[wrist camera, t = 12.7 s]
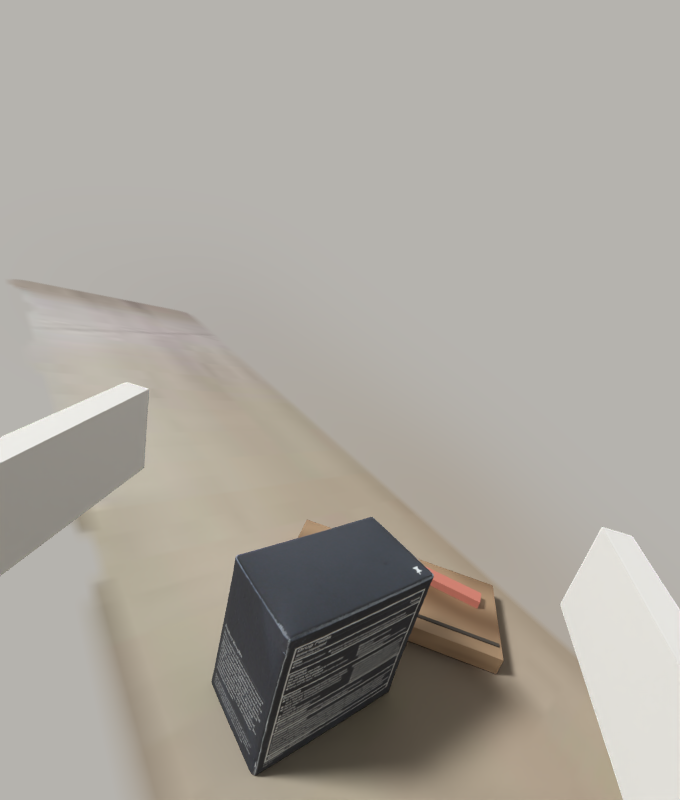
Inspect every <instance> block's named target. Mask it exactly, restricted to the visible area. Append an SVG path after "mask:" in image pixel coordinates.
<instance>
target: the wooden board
mask: <svg viewBox="0 0 680 800" xmlns="http://www.w3.org/2000/svg"><path fill="white" fill-rule="evenodd" d="M328 529H332V528H329V527H327V526H324V525H321V524H318V523H315V522H312V521H310V520H307V521H306V523H305V525H304V527H303V529H302V531H301V533H300V535H299V537H298V538H300V537H304V536H307V535H311V534H314V533H318V532H321V531H325V530H328ZM418 560H419V559H418ZM419 561H420V562H421V563H422V564H423V565H424V566H426V567H428V568H430V569H432V570H434V571H436V572H438V573H440V574H443V575H445V576H447V577H449V578H451V579H453V580H455V581H457V582H459V583H461V584H463V585H465V586H467V587H469V588H471V589H474V590H476V591H478V592H480V593H481V600H480V604H479V606H478V608H475V607H473V606H471V605H469V604H467V603H465V602H463V601H461V600H459V599H456V598H454V597H452V596H450V595H448V594H446V593H444V592H442V591H440V590H438V589H436V588H434V587H432V586H430V587H429V589H428V592H427V595H426V597H425V599H424V602H423V604H422V607H421V609H420V612H419V614H418V617H417V619H416V622H415V624H414V627H413V629H412V632H411V634H410V636H409V638H408V641H410V642H412V643H415V644H418V645H420V646H423V647H426V648H428V649H431V650H434V651H436V652H439V653H442V654H444V655H447V656H449V657H452V658H455V659H457V660H460V661H463V662H465V663H468V664H471V665H473V666H476V667H479V668H481V669H484V670H487V671H489V672H492V673H494V674H496V673H497V672H498V670H499V668H500V666H501V664H502V663H503V661H504V660H503V653H502V646H501V640H500V633H499V626H498V619H497V612H496V606H495V599H494V592H493V586H492V585H490V584H487V583H484V582H481V581H478V580H476V579H473V578H470V577H467V576H464V575H462V574H459V573H456V572H453V571H450V570H447V569H445V568H442V567H439V566H436V565H433V564H431V563H428V562H425V561H422V560H419Z"/></svg>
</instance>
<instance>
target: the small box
mask: <svg viewBox="0 0 680 800" xmlns="http://www.w3.org/2000/svg"><path fill="white" fill-rule="evenodd" d="M433 578H434V575H433V573H432V572H431V571H430V570H429V569H427V568H426V567H425V566H424V565H423V564H422V563H421V562H420V561H419V560H418V559H417V558H416V557H415V556H414V555H413V554H412V553H411V552H409V551H408V550H407V549H406V548H405V547H404V546H403V545H402V544H401V543H400V542H399V541H398V540H397V539H396V538H394V537H393V536H392V535H391V534H390V533H389V532H388V531H387V530H386V529H385V528H384V527H383V526H382V525H381V524H380V523H379V522H377V521H376V520H375V519H374V518H373V517H369V518H366V519H363V520H359V521H355V522H352V523H349V524H345V525H342V526H339V527H335V528H332V529H328V530H325V531H321V532H318V533H314V534H311V535H307V536H304V537H300V538H297V539H293V540H290V541H286V542H283V543H279V544H276V545H272V546H269V547H265V548H262V549H258V550H255V551H251V552H248V553H244V554H240V555H237V556H236V558H235V565H234V571H233V577H232V582H231V587H230V592H229V597H228V602H227V608H226V613H225V618H224V623H223V628H222V633H221V638H220V643H219V648H218V653H217V658H216V663H215V669H214V673H213V677H212V685H213V687H214V689H215V692H216V694H217V697H218V699H219V702H220V704H221V706H222V708H223V711H224V713H225V716H226V718H227V720H228V723H229V725H230V727H231V729H232V731H233V734H234V736H235V738H236V741H237V743H238V745H239V747H240V750H241V752H242V755H243V757H244V759H245V761H246V764H247V766H248V768H249V770H250V772H251V774H253V775H257V774H259V773H260V772H262V771H263V770H265V769H266V768H268V767H270V766H271V765H273V764H275V763H277V762H278V761H280V760H281V759H283V758H284V757H286V756H288V755H289V754H291V753H292V752H294V751H295V750H297V749H299V748H300V747H302V746H303V745H305V744H307V743H308V742H310V741H311V740H313V739H315V738H316V737H318V736H319V735H321V734H322V733H324V732H325V731H327V730H329V729H330V728H332V727H334V726H335V725H337V724H338V723H340V722H341V721H343V720H345V719H346V718H348V717H349V716H351V715H353V714H354V713H356V712H357V711H359V710H361V709H362V708H364V707H365V706H367V705H368V704H370V703H371V702H373V701H374V700H376V699H377V698H379V697H381V696H382V695H384V694H385V693H387V692H388V691H389V688H390V686H391V683H392V680H393V678H394V675H395V671H396V669H397V666H398V663H399V661H400V658H401V656H402V653H403V651H404V648H405V646H406V643H407V641H408V638H409V636H410V634H411V632H412V629H413V627H414V624H415V622H416V619H417V617H418V614H419V612H420V609H421V607H422V604H423V602H424V599H425V597H426V595H427V592H428V589H429V587H430V584H431V582H432V580H433Z"/></svg>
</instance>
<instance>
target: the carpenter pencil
mask: <svg viewBox="0 0 680 800" xmlns="http://www.w3.org/2000/svg"><path fill="white" fill-rule="evenodd" d="M425 567H426V566H425ZM426 568H427V569H429V570H430V571H431V572H432V573H433V575H434V578H433V580H432V582H431V584H430V586H432V587H434V588H436V589H438V590H440V591H442V592H444V593H446V594H448V595H450V596H452V597H454V598H456V599H459V600H461V601H463V602H465V603H467V604H469V605H471V606H473V607H475V608H478V606H479V604H480V600H481V593H480V592H478V591H476V590H474V589H471V588H469V587H467V586H465V585H463V584H461V583H459V582H457V581H455V580H453V579H451V578H449V577H447V576H445V575H443V574H440V573H438V572H436V571H434V570H432V569H430V568H428V567H426Z"/></svg>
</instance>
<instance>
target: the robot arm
mask: <svg viewBox="0 0 680 800" xmlns="http://www.w3.org/2000/svg"><path fill="white" fill-rule="evenodd" d="M148 399H149V389H148V388H145V387H141V386H138V385H135V384H131V383H128V382H125V383H122V384H120V385H118V386H116V387H113V388H111V389H109V390H106V391H104V392H102V393H100V394H97V395H95V396H93V397H91V398H88V399H86V400H84V401H81V402H79V403H77V404H75V405H72V406H70V407H68V408H65V409H63V410H61V411H59V412H56V413H54V414H52V415H50V416H47V417H45V418H43V419H41V420H38V421H36V422H34V423H31V424H29V425H27V426H25V427H23V428H20V429H18V430H16V431H13V432H11V433H9V434H7V435H5V436H2V437H0V576H1V575H2V574H3V573H5V572H6V571H8V570H9V569H10V568H11V567H13V566H14V565H15V564H17V563H18V562H19V561H21V560H22V559H23V558H25V557H26V556H27V555H29V554H30V553H31V552H33V551H34V550H35V549H37V548H38V547H39V546H41V545H42V544H43V543H44V542H46V541H47V540H48V539H50V538H51V537H53V536H54V535H55V534H56V533H58V532H59V531H61V530H62V529H63V528H65V527H66V526H67V525H69V524H70V523H71V522H73V521H74V520H75V519H77V518H78V517H79V516H81V515H82V514H83V513H85V512H86V511H87V510H89V509H90V508H91V507H93V506H94V505H95V504H97V503H98V502H99V501H100V500H102V499H103V498H104V497H106V496H107V495H108V494H110V493H111V492H112V491H114V490H115V489H116V488H118V487H119V486H120V485H122V484H123V483H124V482H126V481H127V480H128V479H130V478H131V477H132V476H134V475H135V474H136V473H138V472H139V471H140V470H142V469H143V468H144V459H145V444H146V429H147V414H148ZM560 606H561V608H562V612H563V615H564V618H565V621H566V624H567V627H568V630H569V633H570V637H571V640H572V643H573V646H574V649H575V652H576V655H577V658H578V661H579V664H580V667H581V671H582V674H583V677H584V680H585V683H586V686H587V689H588V692H589V695H590V698H591V702H592V705H593V708H594V711H595V714H596V717H597V720H598V723H599V726H600V729H601V732H602V736H603V739H604V742H605V745H606V748H607V751H608V754H609V757H610V760H611V763H612V767H613V770H614V773H615V776H616V779H617V782H618V785H619V788H620V791H621V794H622V797H623V800H680V609H679V608H678V606H677V605H676V603H675V602H674V600H673V598H672V597H671V595H670V594H669V592H668V591H667V589H666V588H665V586H664V585H663V583H662V581H661V580H660V578H659V577H658V575H657V574H656V572H655V570H654V569H653V567H652V566H651V564H650V563H649V561H648V560H647V558H646V557H645V555H644V554H643V552H642V550H641V549H640V547H639V546H638V544H637V543H636V541H635V540H634V538H633V536H631V535H628V534H624V533H621V532H618V531H615V530H611V529H608V528H604V527H602V528H601V530H600V531H599V533H598V535H597V537H596V539H595V540H594V542H593V544H592V546H591V548H590V550H589V552H588V554H587V555H586V558H585V559H584V561H583V563H582V565H581V567H580V569H579V570H578V572H577V574H576V576H575V578H574V580H573V582H572V584H571V585H570V587H569V589H568V591H567V593H566V595H565V596H564V598H563V600H562V602H561V604H560Z"/></svg>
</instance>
